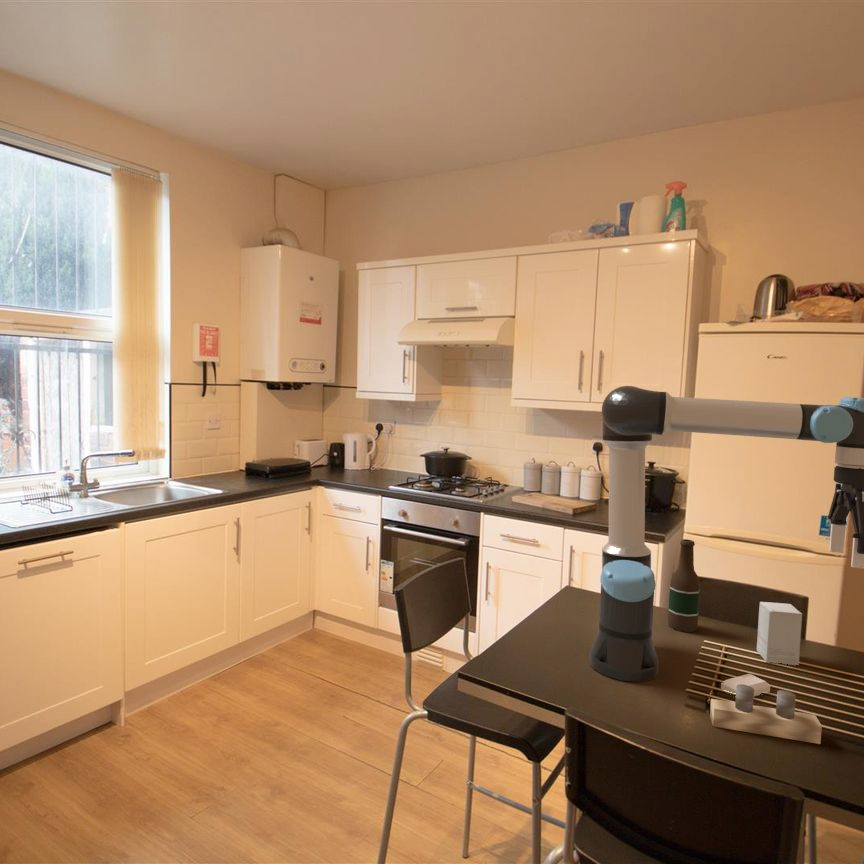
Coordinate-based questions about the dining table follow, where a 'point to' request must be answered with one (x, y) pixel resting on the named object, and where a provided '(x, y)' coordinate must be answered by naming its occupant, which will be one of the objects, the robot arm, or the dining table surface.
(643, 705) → the dining table surface
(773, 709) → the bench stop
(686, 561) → the beer bottle
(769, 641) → the supplement box
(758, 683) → the soap bar
